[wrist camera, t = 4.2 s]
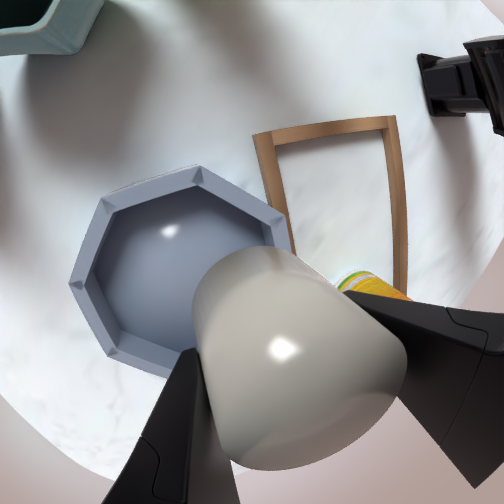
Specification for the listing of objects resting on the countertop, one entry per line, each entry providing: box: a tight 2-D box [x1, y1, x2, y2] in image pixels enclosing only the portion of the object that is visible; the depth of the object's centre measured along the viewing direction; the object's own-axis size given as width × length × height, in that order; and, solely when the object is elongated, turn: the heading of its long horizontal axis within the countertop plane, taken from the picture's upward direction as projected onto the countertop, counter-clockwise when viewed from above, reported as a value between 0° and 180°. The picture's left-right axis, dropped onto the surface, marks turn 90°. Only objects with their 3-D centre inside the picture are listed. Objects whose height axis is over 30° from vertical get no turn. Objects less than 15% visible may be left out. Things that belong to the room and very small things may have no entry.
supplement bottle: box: [334, 270, 413, 301], centre depth 20 cm, size 5×5×10 cm
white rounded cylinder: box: [192, 246, 407, 471], centre depth 7 cm, size 4×4×5 cm
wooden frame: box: [252, 115, 408, 296], centre depth 22 cm, size 12×20×1 cm, turn 14°
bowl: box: [69, 164, 292, 379], centre depth 19 cm, size 14×14×3 cm
